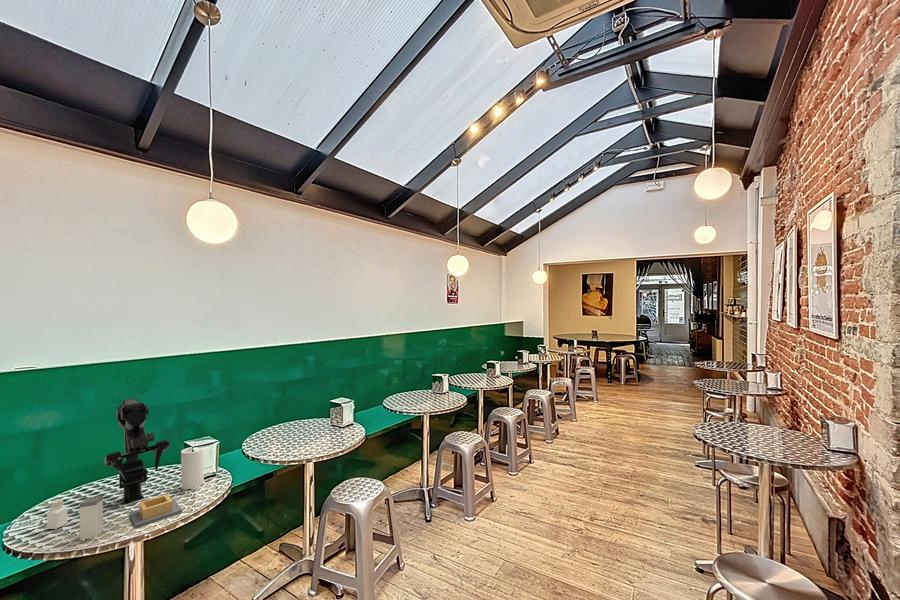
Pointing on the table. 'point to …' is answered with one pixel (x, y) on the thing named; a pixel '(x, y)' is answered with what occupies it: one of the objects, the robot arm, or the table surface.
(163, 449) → the robot arm
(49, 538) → the table surface
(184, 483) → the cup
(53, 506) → the pepper shaker
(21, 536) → the table surface
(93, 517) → the plug
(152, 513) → the socket plate
